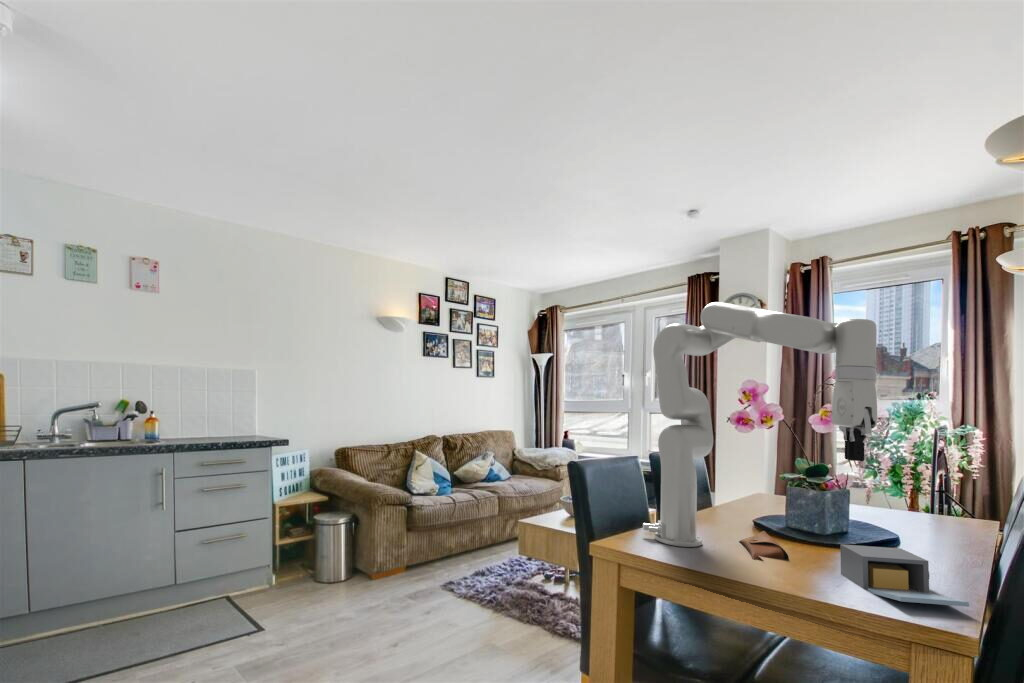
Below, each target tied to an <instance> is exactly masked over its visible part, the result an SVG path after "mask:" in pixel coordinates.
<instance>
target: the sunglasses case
mask: <svg viewBox="0 0 1024 683" xmlns="http://www.w3.org/2000/svg"><path fill="white" fill-rule="evenodd" d="M738 543H740V545H742V546H743V547H744V548H745V550H747V552H748V553H749V554H750V556H751V558H752V560H755V561H765V560H764V559H762V558H761V557H763V558H769V559H777V560H785V561H789V560H790V559H789V558H790V557H789V554H788V552H787V551H786V550H785V549H784V548H783V547H782V546H781V545H780V544H779V542H778V541H776V540H775V539H774V538H772V536H770V535H769V534H768V533H767V532H766V531H765V530H762V531H760V532H759V533H757V534H756V535H753V536H750V537H746V538H743V539H741V540H739V541H738Z"/></svg>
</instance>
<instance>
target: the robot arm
mask: <svg viewBox="0 0 1024 683" xmlns="http://www.w3.org/2000/svg"><path fill="white" fill-rule="evenodd" d="M700 322H701V325H700V326H696V325H693V324H688V323H687V324H686V323H682V322H681V323H671V324H668V325H667V326H665V327H664V328H662V329H661V330H660V332H659V333H658V334H657V335H656V337H655V339H654V342H653V349H652V352H653V360H654V364H655V372H656V384H657V392H658V394H657V395H658V403H659V409H660V411H661V413H662V416H664V417H665V418H666V419H668V420H674V421H680V423H681V424H672V425H668V426H667V427H665V428H664V429H662V431H661V432H660V434H659V436H658V439H657V442H658V443H657V445H658V446H657V447H658V452H659V454H658V455H659V459H660V517H659V518H660V519H658V520H657V522H654V523H647V522H642V530H643V531H648V532H649V533H654V536H653V537H654V539H655V540H656V541H658V542H660V543H661V544H665V545H668V546H675V547H682V548H683V547H685V548H694V547H699V546H701V545H702V544H703V539H702V537H700V536H699V535H697V513H698V512H697V508H698V506H697V505H698V504H697V503H698V502H697V501H698V477H697V470H696V465H695V462H694V459H699V458H700V459H701V458H705V457H706V456H708V455H709V454H710V453H711V452H712V451H713V450H712V449H713V447H714V433H713V424H712V417H711V415H712V414H711V407H710V403H709V402H710V401H709V400H708V398H707V396H706V394H705V393H703V391H702V390H700V389H699V388H695V387H690V384H689V377H688V369H687V366H686V364H685V362H684V360H683V357H682V356H683V355H689V356H694V357H695V356H696V357H703V356H707V355H709V354H711V353H713V352H714V351H716V350H718V349H719V348H721V347H723V346H724V345H726V344H728V343H729V342H731V341H733V340H734V339H736V338H737V339H740V340H741V339H742V340H746V341H751V342H756V343H762V342H763V343H764V342H765V343H768V344H772V345H773V344H774V345H778V346H783V347H788V348H792V349H797V350H801V351H806V352H812V353H816V354H823V355H825V354H833V353H835V368H834V369H835V371H834V372H835V373H834V374H835V376H834V377H835V378H834V382H835V383H834V386H833V387H834V388H833V392H832V402H831V418H830V420H831V423H832V424H833V425H834V426H838V428H839V431H841V432H842V434H843V440H844V459H845V460H847V461H853V462H865V443H866V442H867V436H870V435H872V434H873V432H872V429H874V428H876V427H877V423H878V400H877V399H878V398H877V390H876V383H877V324H876V322H874V321H873V320H871V319H867V318H846V319H842V320H840V321H838V322H829V321H825V320H821V319H818V318H815V317H810V316H806V315H805V316H804V315H799V314H792V313H786V312H780V311H773V310H768V309H766V308H760V307H753V306H748V305H741V304H736V303H729V302H722V301H714V302H710V303H708V304H707V305H706V306H704V308H703V309H702V310H701V312H700Z"/></svg>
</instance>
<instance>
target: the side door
mask: <svg viewBox="0 0 1024 683" xmlns="http://www.w3.org/2000/svg"><path fill="white" fill-rule="evenodd" d="M867 591H868V592H870V593H871V594H873V595H877V596H880V597H883V598H887V599H891V600H895V601H899V602H904V603H917V604H918V603H920V604H928V605H929V604H930V605H931V604H932V605H941V606H957V607H968V608H970V602H969V601H965V600H961V599H957V598H952V597H948V596H944V595H940V594H935V593H932V592H929V593H925V592H920V591H912V590H911V591H909V590H900V589H887V588H874V587H873V588H872V587H871V588H870V587H868V589H867Z"/></svg>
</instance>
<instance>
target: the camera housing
mask: <svg viewBox="0 0 1024 683" xmlns="http://www.w3.org/2000/svg"><path fill="white" fill-rule="evenodd" d="M839 548H840V549H839V550H840V575H841V576H843V577H844V578H846V579H848V580H849V581H851V582H852V583H853V584H855V585H856V586H858V587H860V588H861V589H863V590H868V588H869V585H870V586H872V587H873V588H878V589H891V590H904V591H909V588H910V587H911V588H913V589H916V590H917V591H918V592H925V593H930V571H929V570H930V567H929V560H927V559H925V558H922V557H921V556H918V555H916V554H914V553H912V552H909V551H908V550H905V549H903V548H895V547H885V546H882V547H881V546H869V545H858V544H857V545H856V544H844V543H843V544H840V546H839Z"/></svg>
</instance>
